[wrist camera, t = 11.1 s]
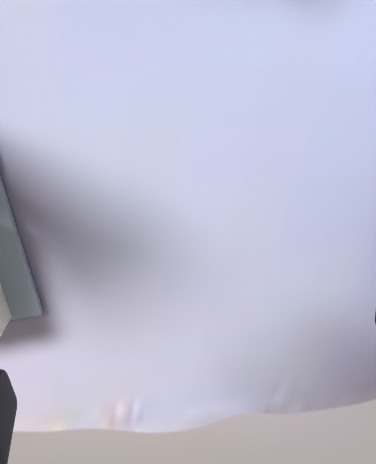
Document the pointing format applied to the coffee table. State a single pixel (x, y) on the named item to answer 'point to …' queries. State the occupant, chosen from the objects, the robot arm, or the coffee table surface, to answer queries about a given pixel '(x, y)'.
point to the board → (14, 271)
